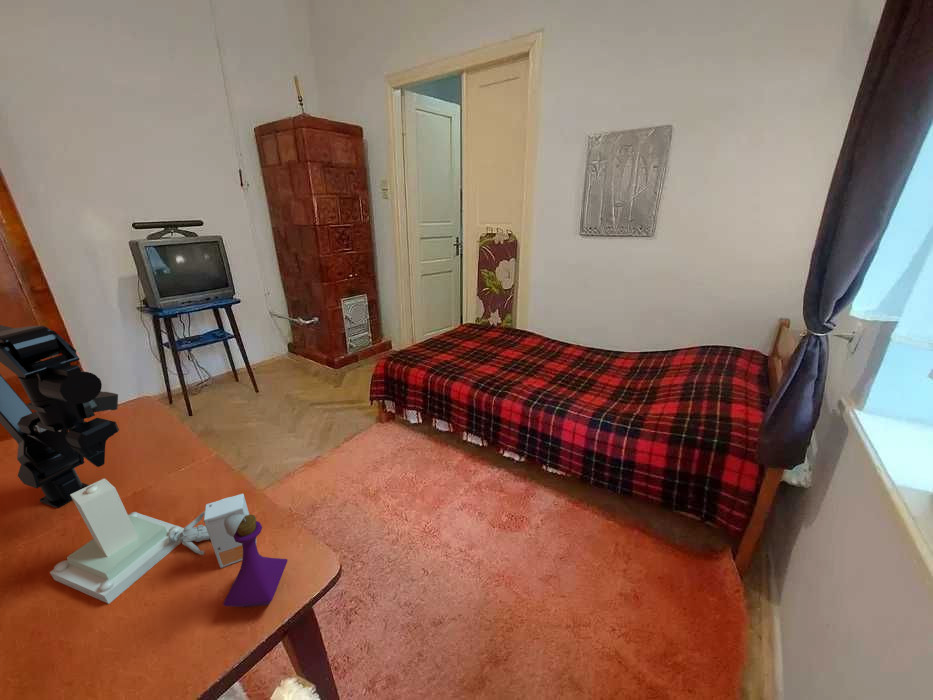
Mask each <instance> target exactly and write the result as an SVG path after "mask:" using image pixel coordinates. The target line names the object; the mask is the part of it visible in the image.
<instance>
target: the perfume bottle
mask: <svg viewBox="0 0 933 700" xmlns="http://www.w3.org/2000/svg"><path fill="white" fill-rule="evenodd" d="M224 526H225V529H226V532H227V534H229V535H230V536H232V537H234V540H235V541H236V542H238V543H242V546H243V559H242V560H241V565H240V568H239V571H238V572H237V575H236V577H235V579H234V581H233V583H232V585H231V587H230V589H229V591H228V593H227V595H226V596H225V597H226V598H225V599H224V600H223V603H222V606H224V607H233V608H234V607H235V608H237V607H238V608H249V607H250V608H251V607H261V606H262V607H263V606H269V605H270V604H271V603H272V601H273V599H274V597H275V595H276V591H277V589H278V587H279V584H280V582H281V579H282V576H283V574H284V572H285V569H286V566H287V563H288V559H287V558H279V557H277V558H276V557H267V556H263V555H261V554H260V553H259V550H258V546H257V537H258V536H259V535H260V534H261V532H262V529H263V525H262V524H261V522H260V521H257V517H256V515H255V514H250V513H249V515H247V516H246V514H236V515H231V516H228V517H226V518H225V519H224Z"/></svg>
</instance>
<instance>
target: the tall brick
mask: <svg viewBox="0 0 933 700" xmlns="http://www.w3.org/2000/svg"><path fill="white" fill-rule="evenodd" d="M88 485H89V486H87V487H85V488H83V489H81V490H79V491H77V492H74V493H72V494H70V496H71V497H72V499H73V500H72V502H73V503H74V504H75V507H76V508H77V510H78V512H79V514H80V516H81V517H82V519H83V523H85V525H86V527H87V529H88V531H89V533H90V534H91V537H92V539H94V540H95V542H96V544H97V546H98V547H99V548H100V549H101V550H102V551H103V552H104V554H105V555H106V556H107V557H108V556H110V555H111V554H113V553H115V552H116V551H118V550H120V549H121V548H123V547H125V546H126V545H128V544H129V543H131V542H133V541H134V540H136V539H138V538H139V537H138V535H137V533H136V531H135V529H134V527H133V525H132V522H131V520H130V518H129V516H128V515H129V514H128V512H127V510H126V508H125V505H124V504H123V501H122V499H121V498H120V495H119V493H118V491H117V489H116V487H115V486H114V485H113V484H111V482H109V481H108V480H107V479H106V478H102V479H100V480H98V481H95V482H94V483H92V484H88Z"/></svg>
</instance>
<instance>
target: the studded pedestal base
mask: <svg viewBox="0 0 933 700" xmlns="http://www.w3.org/2000/svg"><path fill="white" fill-rule="evenodd" d="M128 516H129V518H130V520H131V522H132V525H133V527H134V529H135V531H136V533H137V535H138V537H139V538H138V539H136V540H134V541H133V542H131V543H129V544H128V545H126V546H125V547H123V548H121V549H120V550H118V551H116V552H115V553H113V554H111V555H110V556H108V557H107V556H106V555H105V554H104V552H103V551H102V550H101V549H100V548H99V547H98V546H97V544H96V542H95V540H94V538H92V539H91V540H89V541H88V542H87V543H85V544H84V545H82V546H81V547H79V548H78V549H76V550H75V551H74V552H72V553H71V554H69V555H68V556H66V559H67V560H62V561H60V562H58V563H57V564H55V565H54V567H53V569H52V570H51V571H49V573H50V576H52V577H51V578H53V580H54V581H56V582H58V583H61V584H62V585H65V586H68V587H70V588H71V589H74V590H76V591H78V592H81V593H84V594H85V595H87V596H90V597H92V598H94V599H97V600H99V601H101V602H104V603H106V604H108V605H109V604H110V603H112V602H113V601H114V600H115V599H117V598H118V596H120V595H121V594H122V593H124V592H125V591H126V590H127V589H128V588H130V586H132V585H133V584H134V583H135V582H136V581H137V580H139V579H140V578H141V577H142V576H144V575H145V574H146V573H147V572H148V571H149V570H151V569H152V568H153V567H154V566H155V565H156V564H158V563H159V562H160V561H161V560H162V559H163V558H165V557H166V556H167V555H169V553H170V552H172V551H173V550H174V549H175V548H176V547H178V546H179V545H180V544H181V543H182V540H181V539H179V538H180V534H179V533H182V532H183V530H184V528H185V527H183V526H182V527H181V526H179V525H176V524H172V523H170V522H166V521H164V520H160V519H157V518H154V517H151V516H149V515H145V514H142V513H139V512H137V511H133V512H130V513H129V514H128ZM174 530H175V532H176V533H177V532H178V535H179V536H178V539H177V540H176V541H175V542H174V544H173V543H169V534H170V533H171V532H172V531H174Z"/></svg>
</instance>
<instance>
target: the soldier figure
mask: <svg viewBox="0 0 933 700" xmlns="http://www.w3.org/2000/svg"><path fill="white" fill-rule="evenodd" d="M204 515H205V510H204V511H202V512H201V513H200V514H199V515H198V516H197V517H195V518H194V520H193V521H191V522H190V523H188V524H187V525H186V526H184V527H183V528H184V530H183V532H182V533H179V534H180V538H179V539H181V540H182V542H181V543H182V545H184V546H185V547H186V548H188V549H189V550H191V551H192V552H194V553H196V554H198V555H201V556H204V554H205V551H203V550H200V548H199V547H198V546H197V545H196V544H194V542H196V543H197V542H200V543H201V541H209V540H210V537H209V534H208V531H207V528H206V525H203V524H198V523H199V522H200V521H201V520H202V519H203V517H204ZM197 524H198V525H197ZM196 525H197V526H196ZM178 536H179V535H178V532H177V533H176V532H175V530H174V531H172V532H171V533H170V534H169V543H173V544H174V542H175V541H176V540H177V539H178Z"/></svg>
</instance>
